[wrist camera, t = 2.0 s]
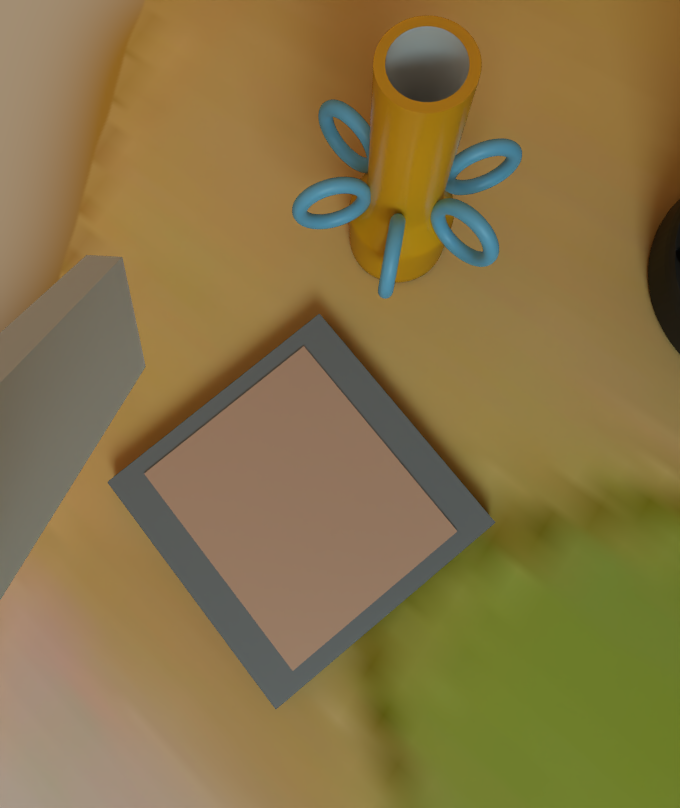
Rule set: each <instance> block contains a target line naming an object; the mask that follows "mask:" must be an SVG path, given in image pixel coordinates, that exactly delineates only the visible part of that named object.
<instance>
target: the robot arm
mask: <svg viewBox="0 0 680 808" xmlns="http://www.w3.org/2000/svg"><path fill="white" fill-rule="evenodd" d="M648 278H649V289H650V295H651V300H652V304H653V307H654V310H655V313H656V316H657V318H658V321H659V323H660V325H661V327H662V329H663V331H664V332H665V334H666V336H667V337H668V339H669V340H670V342H671V343H672V345H673V346H674V347H675V349H676V350H677V351H678V352H679V353H680V199H679V200H678V201H677V202H676V204H675V205H674V206H673V207H672V208H671V209H670V211H669V212H668V213H667V215H666V216H665V218H664V219H663V221H662V223H661V225H660V226H659V229H658V231H657V233H656V235H655V238H654V241H653V244H652V248H651V253H650V258H649V269H648ZM145 367H146V366H145V362H144V357H143V352H142V348H141V343H140V338H139V333H138V329H137V324H136V319H135V315H134V310H133V305H132V301H131V296H130V291H129V286H128V282H127V277H126V272H125V268H124V263H123V258H122V257H112V256H93V255H86V256H85V257H84V258H83V259H82V260H81V261H80V262H78V263H77V264H76V265H75V266H74V267H73V268H72V269H71V270H70V271H68V272H67V273H66V274H65V275H64V276H63V277H62V278H61V279H60V280H58V281H57V282H56V283H55V284H54V285H53V286H52V287H51V288H50V289H48V290H47V291H46V292H45V293H44V294H43V295H42V296H41V297H39V299H37V300H36V301H35V302H34V303H33V304H32V305H31V306H29V307H28V308H27V310H25V311H24V312H23V313H22V314H21V315H20V316H19V317H18V318H16V319H15V320H14V321H13V322H12V323H11V324H9V325H8V326H7V327H6V328H5V329H4V330H3V331H2V332H1V333H0V599H1V598H2V596H3V595H4V593H5V591H6V590H7V588H8V587H9V585H10V583H11V582H12V580H13V579H14V577H15V575H16V574H17V572H18V570H19V569H20V567H21V566H22V564H23V562H24V561H25V559H26V558H27V556H28V554H29V553H30V551H31V550H32V548H33V546H34V545H35V543H36V542H37V540H38V538H39V537H40V535H41V534H42V532H43V530H44V529H45V527H46V526H47V524H48V522H49V521H50V519H51V518H52V516H53V514H54V513H55V511H56V509H57V508H58V506H59V505H60V503H61V501H62V500H63V498H64V497H65V495H66V493H67V492H68V490H69V489H70V487H71V485H72V484H73V482H74V481H75V479H76V477H77V476H78V474H79V473H80V471H81V469H82V468H83V466H84V465H85V463H86V461H87V460H88V458H89V457H90V455H91V453H92V452H93V450H94V448H95V447H96V445H97V444H98V442H99V440H100V439H101V437H102V436H103V434H104V432H105V431H106V429H107V428H108V426H109V424H110V423H111V421H112V420H113V418H114V416H115V415H116V413H117V412H118V410H119V408H120V407H121V405H122V404H123V402H124V400H125V399H126V397H127V396H128V394H129V392H130V391H131V389H132V387H133V386H134V384H135V383H136V381H137V379H138V378H139V376H140V375H141V373H142V371H143V370H144V368H145Z"/></svg>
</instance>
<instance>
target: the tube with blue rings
mask: <svg viewBox="0 0 680 808" xmlns="http://www.w3.org/2000/svg"><path fill="white" fill-rule="evenodd" d="M481 67H482V62H481V55H480V51H479V48H478V46H477V44H476V42H475V40H474V39H473V37H472V36H471V35H470V34H469V33H468V32H467V31H466V30H465V29H464V28H463V27H461V26H460V25H459V24H457V23H455V22H453V21H451V20H449V19H446V18H442V17H438V16H417V17H412V18H409V19H406V20H404V21H401V22H400V23H398V24H396V25H395V26H393V27H392V28H391V29H389V30H388V31H387V32H386V33H385V35H384V36H383V37H382V38H381V40H380V41H379V43H378V45H377V48H376V50H375V54H374V59H373V78H372V100H371V122H370V126H369V125H368V123H367V122H366V121H365V120H364V119H363V117H362V116H361V115H360V114H359V113H358V112H357V111H355V110H354V109H353V108H352V107H350V106H349V105H347V104H346V103H344V102H342V101H339V100H328V101H326V102H324V103H323V104H322V105H321V107H320V109H319V115H318V117H319V124H320V127H321V130H322V132H323V135H324V137H325V138H326V140H327V142H328V143H329V145H330V146H331V148H332V149H333V150H334V152H335V153H336V154H337V155H338V156H339V157H340V158H341V159H342V160H343V161H344V162H345V163H346V164H347V165H349V166H350V167H351V168H353V169H355V170H357V171H359V172H362V173H365V174H364V175H363V176H362V178H361V179H357V178H353V177H336V178H330V179H326V180H323V181H320V182H318V183H316V184H313V185H312V186H310V187H308V188H307V189H305V190H304V191H303V192H302V193H300V194H299V196H298V197H297V198H296V200H295V201H294V204H293V207H292V213H293V217H294V219H295V220H296V221H297V222H298V223H299V224H300V225H302V226H304V227H307V228H311V229H328V228H333V227H337V226H341V225H344V224H346V223H348V222H349V226H350V245H351V249H352V252H353V255H354V257H355V259H356V260H357V262H358V263H359V265H360V266H361V267H362V268H363V269H364V270H365V271H366V272H368V273H369V274H370V275H372V276H374V277H376V278H378V279H380V281H379V287H378V293H379V295H380V297H382V298H389V297H390V296H391V295H392V293H393V289H394V284H395V282H406V281H410V280H413V279H416V278H418V277H420V276H422V275H424V274H425V273H427V272H428V271H429V270H430V269H431V268H432V267H433V266H434V265H435V263H436V262H437V261H438V259H439V257H440V255H441V253H442V250H443V248H444V246H445V247H446V248H447V249H448V250H449V251H450V252H451V253H453V254H454V255H455V256H456V257H458V258H459V259H461V260H462V261H464V262H466V263H468V264H471V265H474V266H478V267H484V266H488V265H491V264H492V263H493V262H494V261H495V260H496V259H497V257H498V254H499V243H498V240H497V237H496V235H495V232H494V231H493V229H492V227H491V226H490V224H489V223H488V222H487V221H486V219H485V218H484V217H483V216H482V215H481V214H480V213H479V212H477V211H476V210H475V209H474V208H472V207H471V206H469V205H468V204H466V203H464V202H462V201H460V200H457V199H453V196H452V194H454V195H468V194H473V193H477V192H480V191H483V190H486V189H488V188H491V187H493V186H495V185H497V184H498V183H500V182H502V181H503V180H505V179H506V178H507V177H508V176H510V175H511V174H512V173H513V172H514V171H515V170H516V168H517V167H518V165H519V164H520V162H521V158H522V150H521V148H520V146H519V145H518V144H517V143H516V142H515V141H512V140H509V139H492V140H487V141H483V142H480V143H478V144H475V145H473V146H471V147H469V148H467V149H465V150H463V151H462V152H460V153H459V154H457V155H456V152H457V149H458V146H459V142H460V139H461V136H462V133H463V129H464V126H465V123H466V120H467V117H468V113H469V110H470V107H471V104H472V100H473V97H474V94H475V91H476V88H477V84H478V81H479V78H480V74H481ZM333 117H336V118H338V119H340V120H341V121H343V122H344V123H345V124H346V125H347V126H348V127H349V128H350V129H351V130H352V131H353V132H354V133H355V134H356V136H357V137H358V138H359V140H360V142H361V143H362V145H363V147H364V149H365V152H366V156H367V158H364V157H362V156H360V155H358V154H357V153H356V152H354V151H353V150H352V149H351V148H350V147H349V146H348V145H347V144H346V143H345V141H344V140H343V139H342V137H341V136H340V134H339V133H338V131H337V129H336V127H335V124H334V121H333ZM455 155H456V156H455ZM492 156H505V157H506V159H505V160H504V161H503V162H502V163H501V164H500V165H499V166H498V167H497V168H495V169H494V170H492V171H490V172H489V173H487V174H485V175H482V176H480V177H477V178H473V179H469V180H457V179H455V178H456V176H457V175H458V174H459V173H460V172H461V171H462V170H463V169H465V168H466V167H468V166H469V165H471V164H473V163H475V162H477V161H479V160H482V159H485V158H488V157H492ZM336 194H352V196H351V200H350V205H349V206H348V207H346V208H344V209H342V210H339V211H337V212H333V213H329V214H312V213H309V212H308V211H307V210H308V208H309V207H310V206H311V205H312V204H314V203H315V202H317V201H318V200H320V199H323V198H325V197H328V196H331V195H336ZM454 217H456V218H458V219H459V220H461V221H462V222H464V223H465V224H466V225H467V226H468V227H470V228H471V230H472V231H473V232H474V233H475V234H476V236H477V237H478V238H479V240H480V242H481V244H482V247H483V252H480V251H476V250H474V249H472V248H470V247H468V246H467V245H465V244H464V243H463V242H462V241H460V240H459V239H458V238H457V237H456V236H455V234H454V233H453V232H452V230H451V226H452V223H453V219H454Z"/></svg>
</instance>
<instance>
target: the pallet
mask: <svg viewBox="0 0 680 808" xmlns="http://www.w3.org/2000/svg"><path fill="white" fill-rule="evenodd" d="M108 484H109V485H110V486H111V488H112V489H113V490H114V492H115V493H116V494H117V496H118V497H119V498H120V500H121V501H122V502H123V504H124V505H125V507H126V508H127V509H128V511H129V512H130V513H131V515H132V516H133V517H134V519H135V520H136V521H137V523H138V524H139V525H140V527H141V528H142V529H143V531H144V532H145V534H146V535H147V536H148V538H149V539H150V540H151V542H152V543H153V544H154V546H155V547H156V548H157V550H158V551H159V552H160V554H161V555H162V556H163V558H164V559H165V561H166V562H167V563H168V565H169V566H170V567H171V569H172V570H173V571H174V573H175V574H176V575H177V577H178V578H179V579H180V581H181V582H182V583H183V585H184V586H185V588H186V589H187V590H188V592H189V593H190V594H191V596H192V597H193V598H194V600H195V601H196V602H197V604H198V605H199V606H200V608H201V609H202V610H203V612H204V613H205V615H206V616H207V617H208V619H209V620H210V621H211V623H212V624H213V625H214V627H215V628H216V629H217V631H218V632H219V633H220V635H221V636H222V637H223V639H224V640H225V642H226V643H227V644H228V646H229V647H230V648H231V650H232V651H233V652H234V654H235V655H236V656H237V658H238V659H239V660H240V662H241V663H242V664H243V666H244V667H245V668H246V670H247V671H248V673H249V674H250V675H251V677H252V678H253V679H254V681H255V682H256V683H257V685H258V686H259V687H260V689H261V690H262V691H263V693H264V694H265V695H266V697H267V698H268V700H269V701H270V702H271V704H272V705H273V706H274V708H275V709H277V708H278V707H279V706H280V705H282V704H283V703H284V702H285V701H286V700H288V699H289V698H290V697H291V696H292V695H293V694H295V693H296V692H297V691H298V690H299V689H300V688H302V687H303V686H304V685H305V684H306V683H307V682H309V681H310V680H311V679H312V678H313V677H315V676H316V675H317V674H318V673H319V672H320V671H322V670H323V669H324V668H325V667H326V666H327V665H329V664H330V663H331V662H332V661H333V660H334V659H336V658H337V657H338V656H339V655H340V654H342V653H343V652H344V651H345V650H346V649H347V648H349V647H350V646H351V645H352V644H353V643H354V642H356V641H357V640H358V639H359V638H360V637H361V636H363V635H364V634H365V633H366V632H367V631H369V630H370V629H371V628H372V627H373V626H374V625H376V624H377V623H378V622H379V621H380V620H381V619H383V618H384V617H385V616H386V615H387V614H388V613H390V612H391V611H392V610H393V609H394V608H396V607H397V606H398V605H399V604H400V603H401V602H403V601H404V600H405V599H406V598H407V597H408V596H410V595H411V594H412V593H413V592H414V591H415V590H417V589H418V588H419V587H420V586H421V585H423V584H424V583H425V582H426V581H427V580H428V579H430V578H431V577H432V576H433V575H434V574H435V573H437V572H438V571H439V570H440V569H441V568H442V567H444V566H445V565H446V564H447V563H448V562H449V561H451V560H452V559H453V558H454V557H455V556H457V555H458V554H459V553H460V552H461V551H462V550H464V549H465V548H466V547H467V546H468V545H469V544H471V543H472V542H473V541H474V540H475V539H476V538H478V537H479V536H480V535H481V534H482V533H484V532H485V531H486V530H487V529H488V528H489V527H491V526H492V525H493V524H494V523H495V522H494V520H493V519H492V518H491V517H490V516H489V514H488V513H487V512H486V511H485V510H484V508H483V507H482V506H481V505H480V504H479V503H478V501H477V500H476V499H475V498H474V497H473V495H472V494H471V493H470V492H469V491H468V490H467V488H466V487H465V486H464V485H463V484H462V482H461V481H460V480H459V479H458V478H457V476H456V475H455V474H454V473H453V472H452V471H451V469H450V468H449V467H448V466H447V465H446V463H445V462H444V461H443V460H442V459H441V457H440V456H439V455H438V454H437V453H436V452H435V450H434V449H433V448H432V447H431V446H430V444H429V443H428V442H427V441H426V440H425V438H424V437H423V436H422V435H421V434H420V433H419V431H418V430H417V429H416V428H415V427H414V425H413V424H412V423H411V422H410V421H409V419H408V418H407V417H406V416H405V415H404V414H403V412H402V411H401V410H400V409H399V408H398V406H397V405H396V404H395V403H394V402H393V400H392V399H391V398H390V397H389V396H388V395H387V393H386V392H385V391H384V390H383V389H382V387H381V386H380V385H379V384H378V383H377V381H376V380H375V379H374V378H373V377H372V376H371V374H370V373H369V372H368V371H367V370H366V368H365V367H364V366H363V365H362V364H361V362H360V361H359V360H358V359H357V358H356V357H355V355H354V354H353V353H352V352H351V351H350V349H349V348H348V347H347V346H346V345H345V343H344V342H343V341H342V340H341V339H340V338H339V336H338V335H337V334H336V333H335V332H334V330H333V329H332V328H331V327H330V326H329V324H328V323H327V322H326V321H325V320H324V319H323V317H322V316H321V315H320V314H318V315H317V316H316V317H314V318H313V319H312V320H311V321H309V322H308V323H307V324H306V325H304V326H303V327H302V328H301V329H299V330H298V331H297V332H296V333H294V334H293V335H292V336H291V337H289V338H288V339H287V340H286V341H284V342H283V343H282V344H281V345H279V346H278V347H277V348H275V349H274V350H273V351H272V352H270V353H269V354H268V355H267V356H265V357H264V358H263V359H262V360H260V361H259V362H258V363H257V364H255V365H254V366H253V367H252V368H250V369H249V370H248V371H247V372H245V373H244V374H243V375H242V376H240V377H239V378H238V379H236V380H235V381H234V382H233V383H231V384H230V385H229V386H228V387H226V388H225V389H224V390H223V391H221V392H220V393H219V394H218V395H216V396H215V397H214V398H213V399H211V400H210V401H209V402H208V403H206V404H205V405H204V406H203V407H201V408H200V409H199V410H197V411H196V412H195V413H194V414H192V415H191V416H190V417H189V418H187V419H186V420H185V421H184V422H182V423H181V424H180V425H179V426H177V427H176V428H175V429H174V430H172V431H171V432H170V433H169V434H167V435H166V436H165V437H163V438H162V439H161V440H160V441H158V442H157V443H156V444H155V445H153V446H152V447H151V448H150V449H148V450H147V451H146V452H145V453H143V454H142V455H141V456H140V457H138V458H137V459H136V460H135V461H133V462H132V463H131V464H130V465H128V466H127V467H126V468H124V469H123V470H122V471H121V472H119V473H118V474H117V475H116V476H114V477H113V478H112V479H111V480H109V481H108Z"/></svg>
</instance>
